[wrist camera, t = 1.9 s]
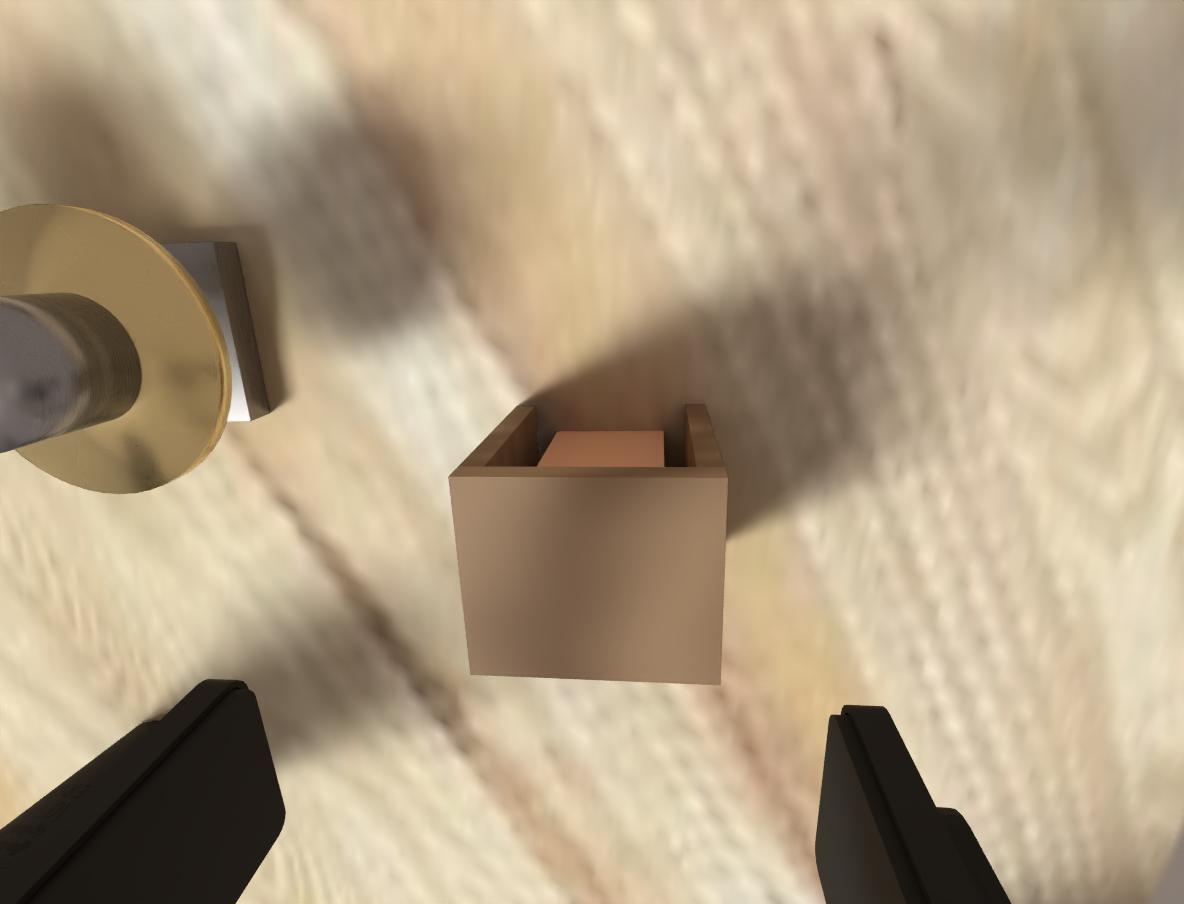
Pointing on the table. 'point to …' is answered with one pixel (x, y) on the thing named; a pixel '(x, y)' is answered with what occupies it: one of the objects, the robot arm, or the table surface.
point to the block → (605, 449)
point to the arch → (592, 561)
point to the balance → (119, 348)
